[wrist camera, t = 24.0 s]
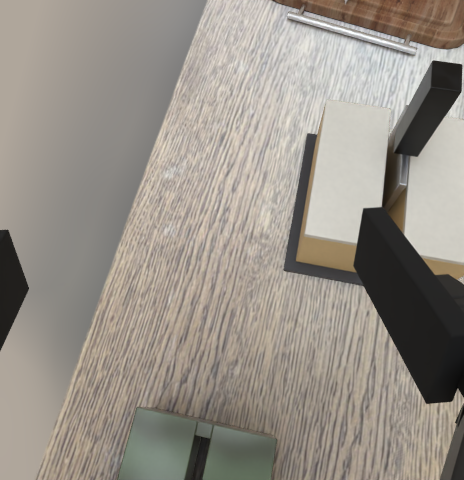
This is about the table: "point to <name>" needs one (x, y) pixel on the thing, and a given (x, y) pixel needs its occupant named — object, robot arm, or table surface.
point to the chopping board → (390, 20)
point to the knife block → (193, 449)
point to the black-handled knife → (419, 124)
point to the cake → (375, 193)
